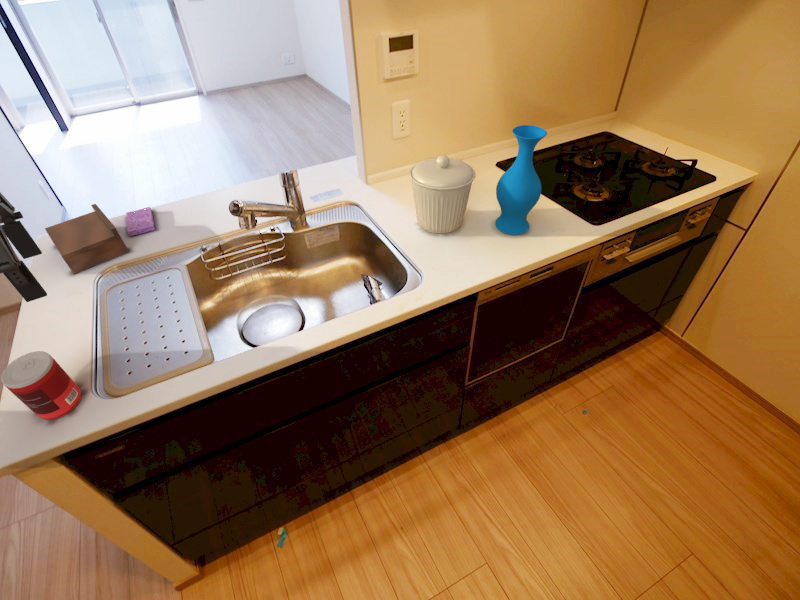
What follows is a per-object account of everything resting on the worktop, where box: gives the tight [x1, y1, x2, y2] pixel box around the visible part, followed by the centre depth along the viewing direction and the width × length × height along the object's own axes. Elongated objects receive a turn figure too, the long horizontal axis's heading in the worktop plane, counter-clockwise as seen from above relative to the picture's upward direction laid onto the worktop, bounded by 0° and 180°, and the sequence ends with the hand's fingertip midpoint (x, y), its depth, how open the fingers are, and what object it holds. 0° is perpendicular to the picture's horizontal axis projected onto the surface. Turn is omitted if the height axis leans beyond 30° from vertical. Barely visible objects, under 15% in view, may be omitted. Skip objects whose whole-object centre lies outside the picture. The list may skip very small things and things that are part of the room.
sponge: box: [125, 206, 156, 237], centre depth 129 cm, size 7×13×2 cm, turn 28°
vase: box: [494, 124, 548, 236], centre depth 116 cm, size 12×13×28 cm
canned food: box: [0, 350, 82, 421], centre depth 79 cm, size 8×8×11 cm
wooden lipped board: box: [44, 203, 130, 275], centre depth 118 cm, size 14×18×8 cm
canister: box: [408, 154, 477, 234], centre depth 120 cm, size 18×18×21 cm
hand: (34, 275), depth 71 cm, fingers open, 13 cm apart
